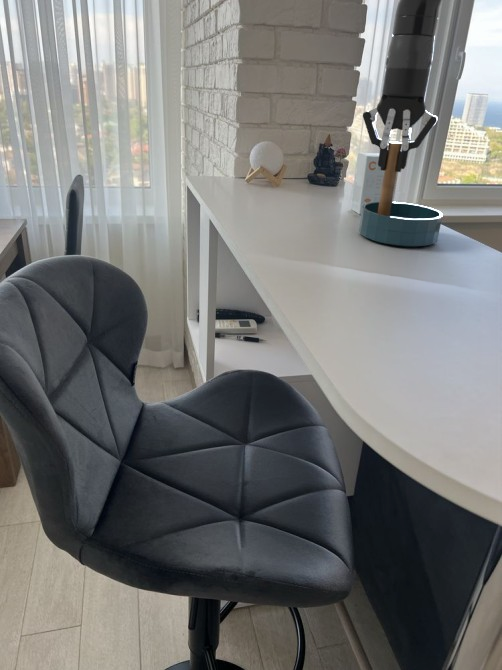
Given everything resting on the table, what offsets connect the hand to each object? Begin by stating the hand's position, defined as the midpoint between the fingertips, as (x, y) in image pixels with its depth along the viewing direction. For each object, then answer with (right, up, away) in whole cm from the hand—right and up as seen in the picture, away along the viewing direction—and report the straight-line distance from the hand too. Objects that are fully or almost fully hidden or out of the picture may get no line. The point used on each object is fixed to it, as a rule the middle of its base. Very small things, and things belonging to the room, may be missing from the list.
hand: (390, 170), depth 95 cm
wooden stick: (0, -9, +5) cm, 10 cm away
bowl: (+3, -12, +5) cm, 13 cm away
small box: (+2, -2, +25) cm, 25 cm away
